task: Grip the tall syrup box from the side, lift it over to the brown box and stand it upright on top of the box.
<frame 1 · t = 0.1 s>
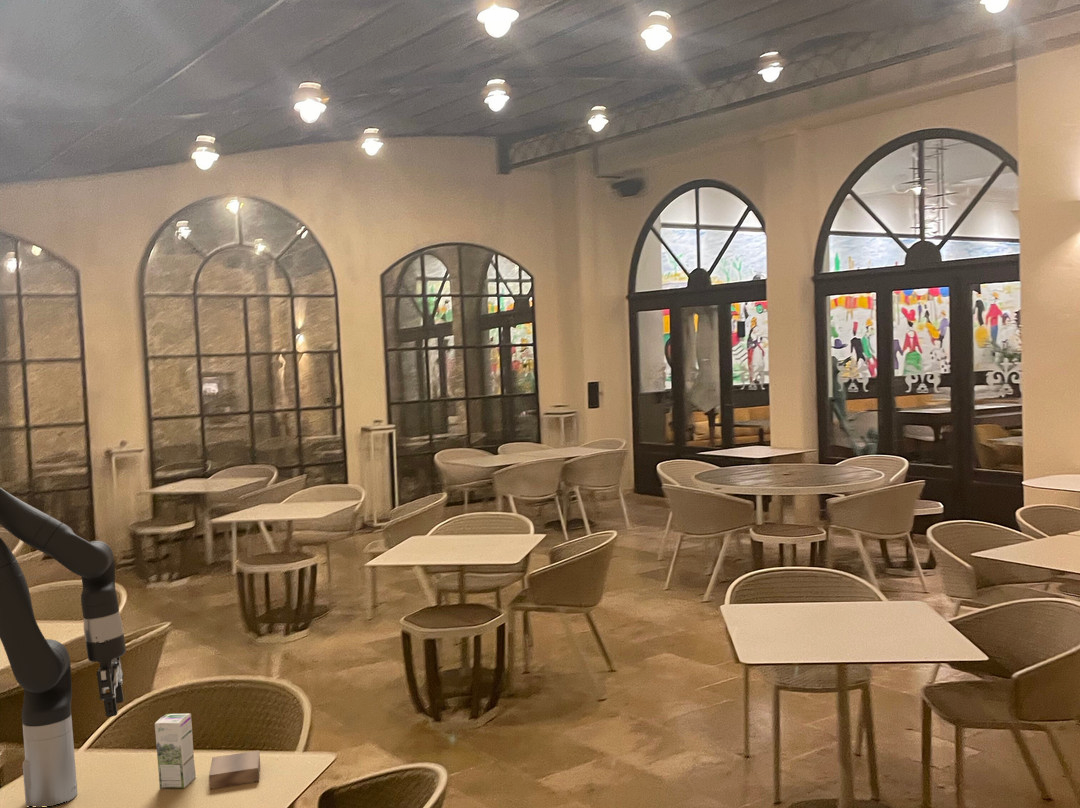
hand: (115, 709, 207), 17 cm above the table, tool pointing down, fingers open, 8 cm apart
brown box: (235, 775, 211), on the table
syrup box: (177, 784, 209), on the table
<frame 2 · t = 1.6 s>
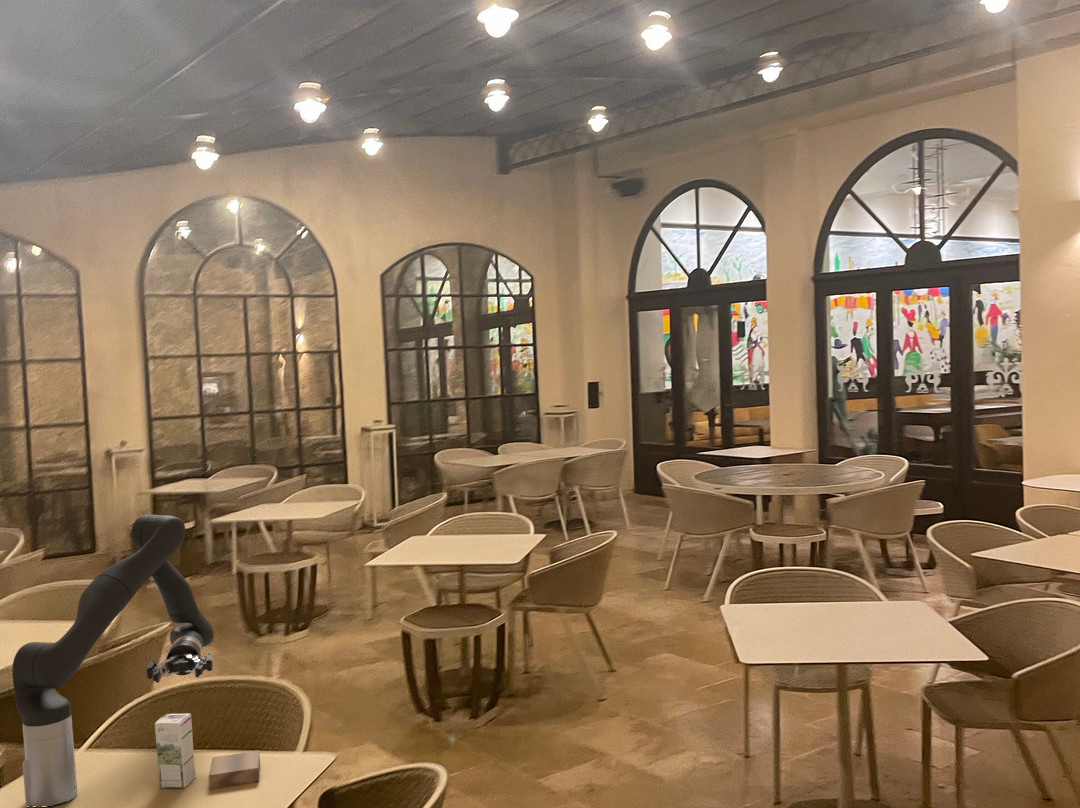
hand: (177, 675, 219), 20 cm above the table, tool horizontal, fingers open, 8 cm apart
nothing on the table moved.
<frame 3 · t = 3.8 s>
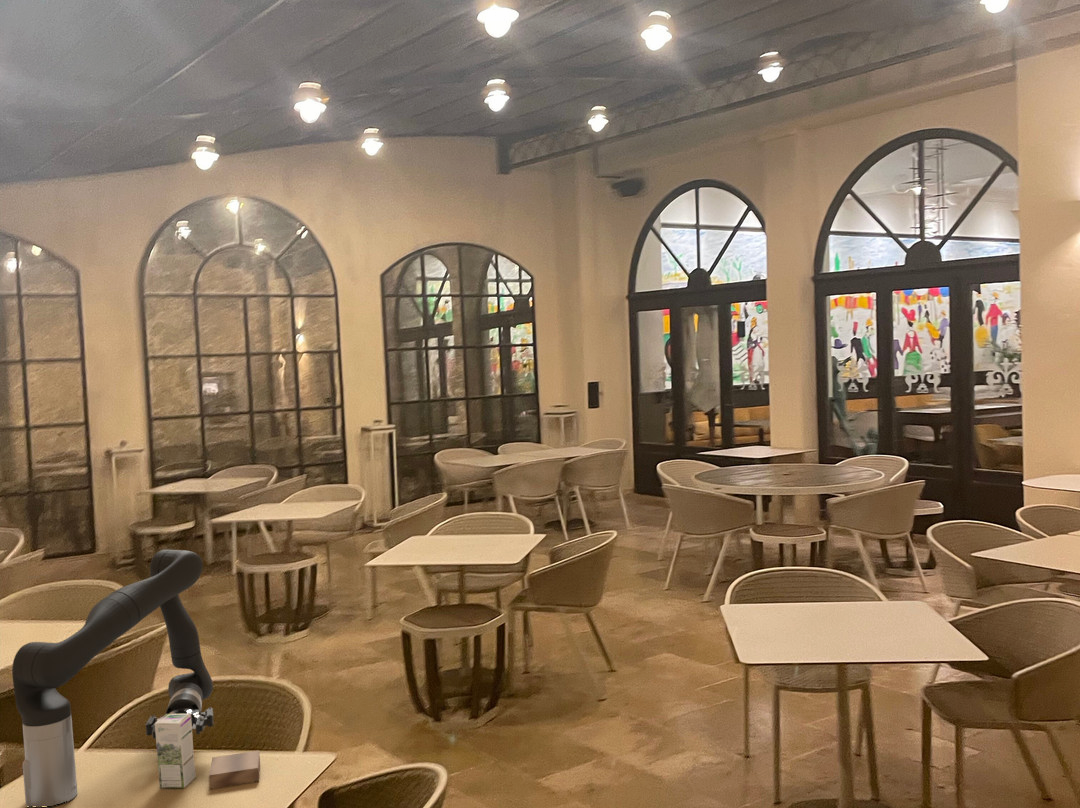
hand: (177, 732, 214), 9 cm above the table, tool horizontal, fingers open, 8 cm apart
nothing on the table moved.
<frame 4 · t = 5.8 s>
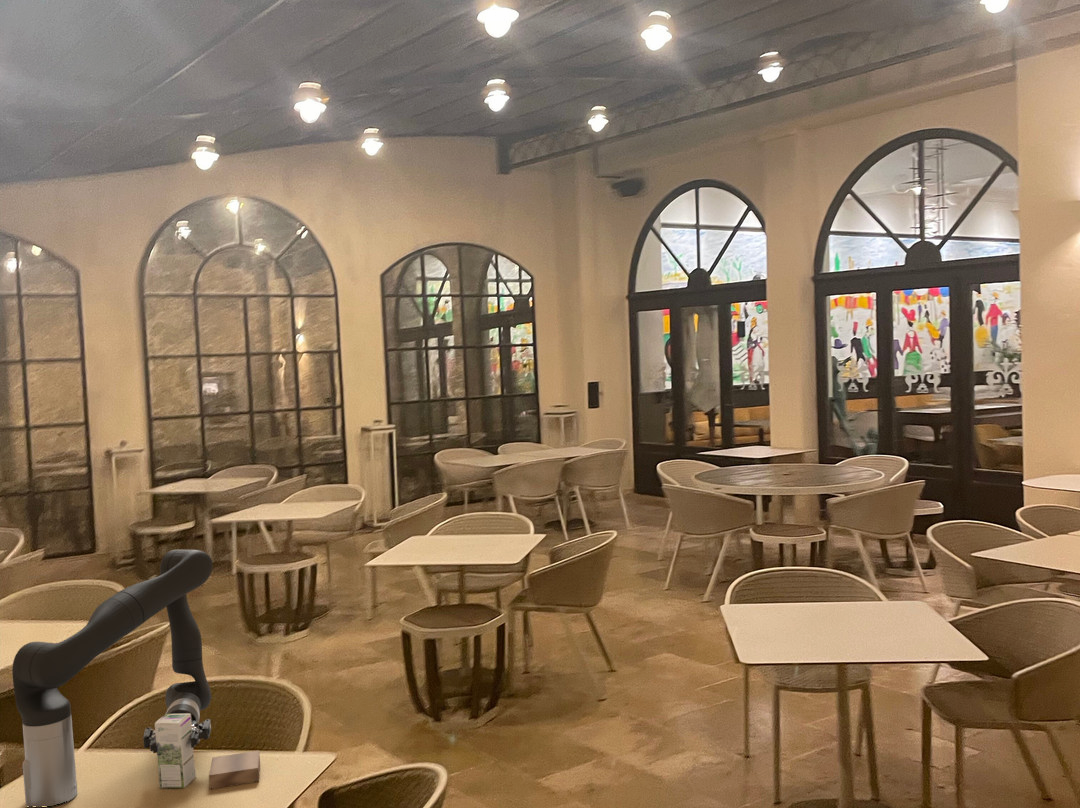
hand: (173, 745, 207), 9 cm above the table, tool horizontal, fingers closed on syrup box, 7 cm apart
syrup box: (177, 784, 209), on the table, touching gripper
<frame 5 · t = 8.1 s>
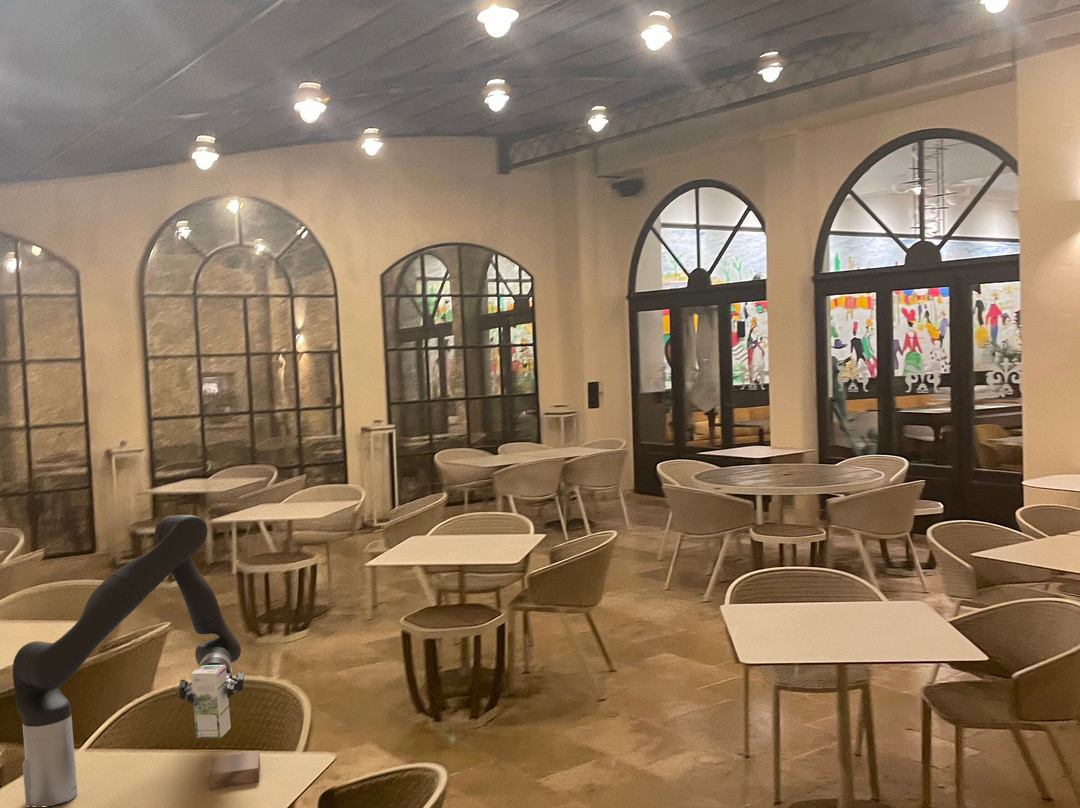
hand: (210, 696, 208), 19 cm above the table, tool horizontal, fingers closed on syrup box, 7 cm apart
syrup box: (213, 734, 211), point 9 cm above the table, touching gripper
when the fingers open (13 cm above the table, at t = 10.4 s): syrup box drops 1 cm, resting on brown box.
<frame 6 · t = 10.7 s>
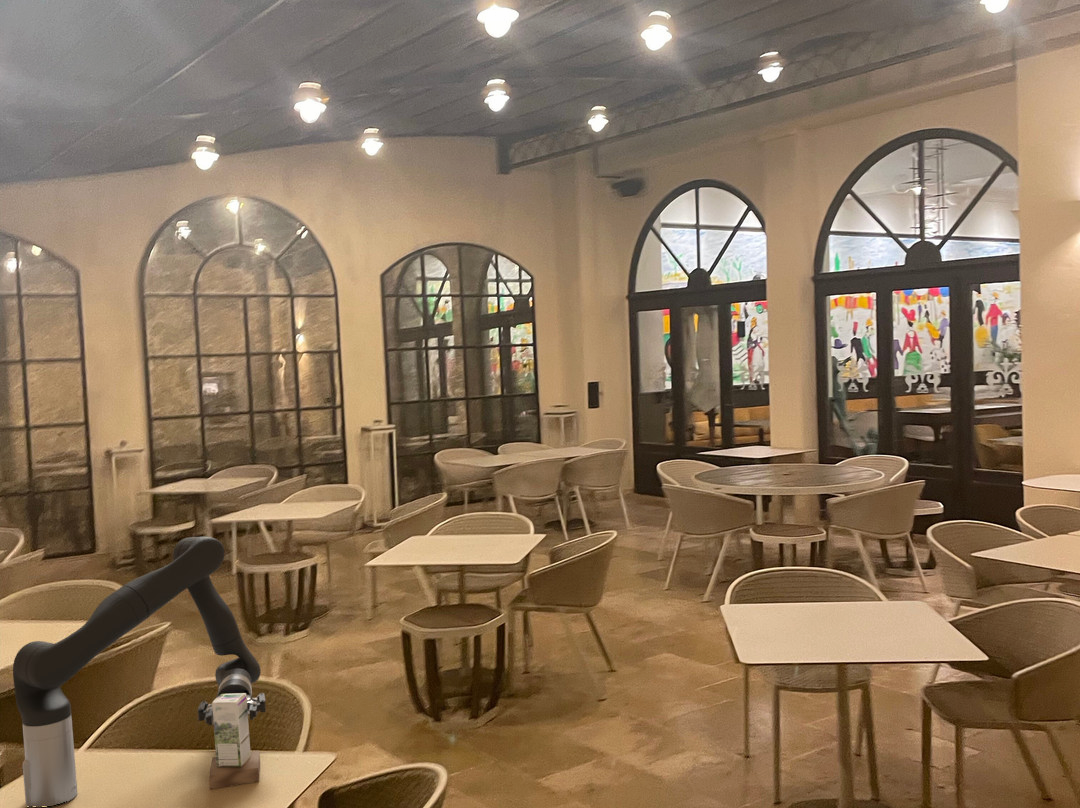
hand: (230, 718, 209), 13 cm above the table, tool horizontal, fingers open, 8 cm apart
syrup box: (234, 763, 211), point 3 cm above the table, touching brown box
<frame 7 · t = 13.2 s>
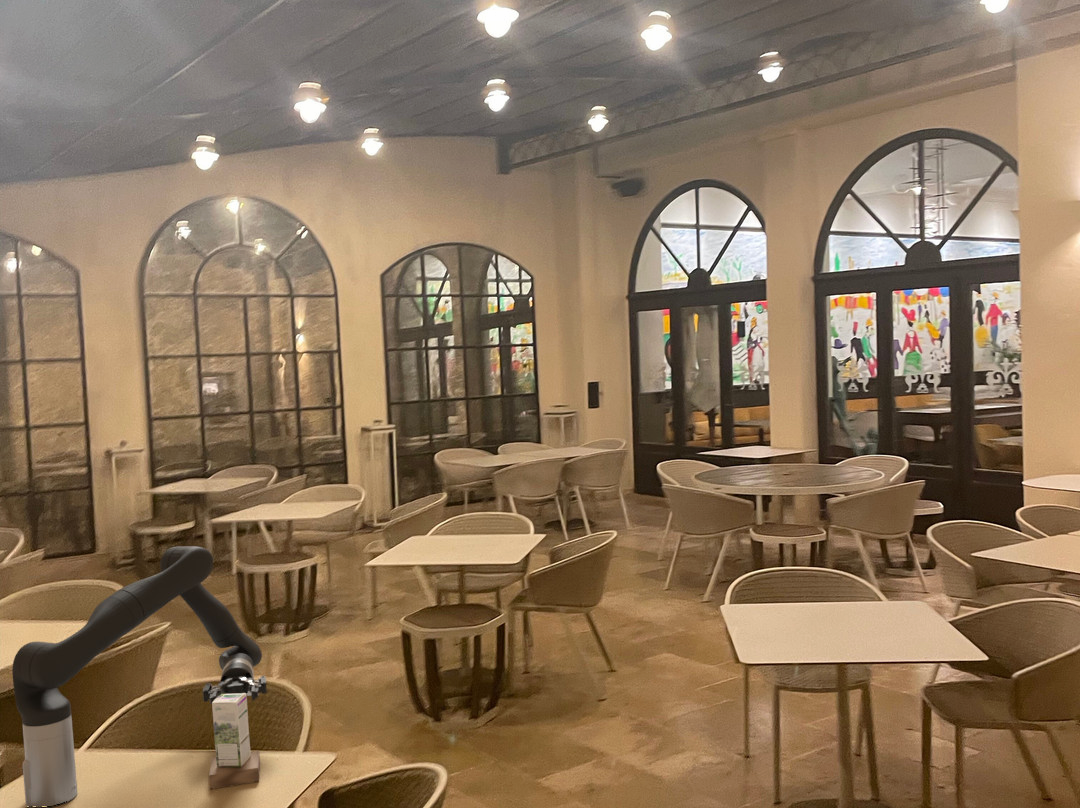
hand: (234, 698, 221), 14 cm above the table, tool horizontal, fingers open, 8 cm apart
nothing on the table moved.
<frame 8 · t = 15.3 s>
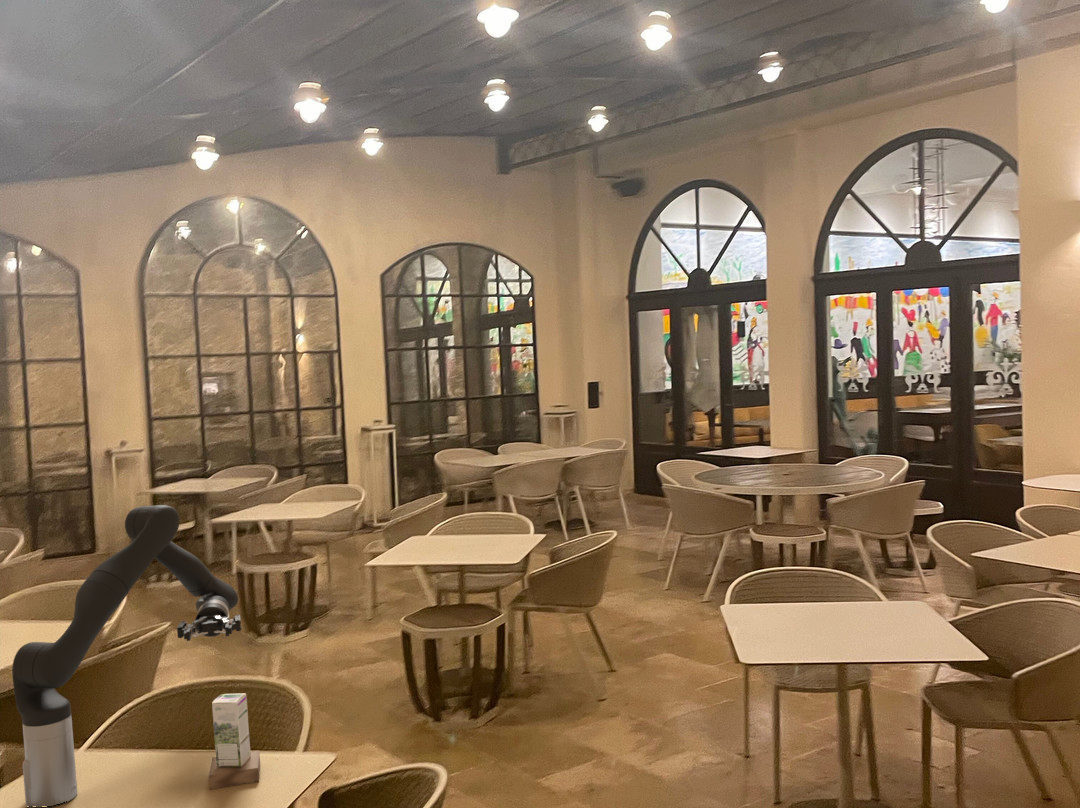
hand: (207, 634, 223), 28 cm above the table, tool horizontal, fingers open, 8 cm apart
nothing on the table moved.
at the end: syrup box 0.2 cm off-centre on the brown box, point 2.8 cm above the brown box's base; syrup box tilted 0°; the gripper is holding nothing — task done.
